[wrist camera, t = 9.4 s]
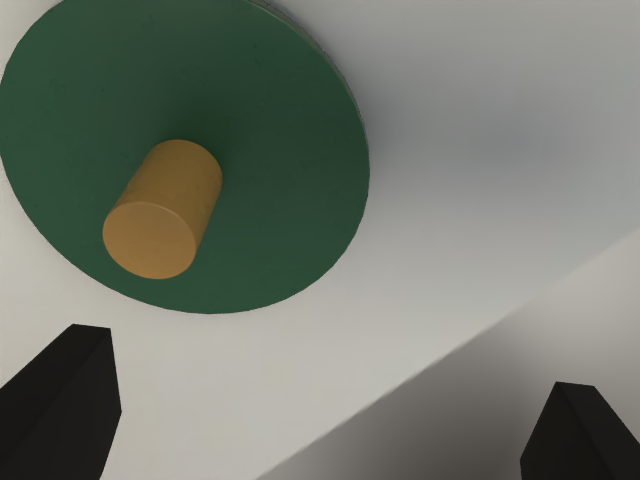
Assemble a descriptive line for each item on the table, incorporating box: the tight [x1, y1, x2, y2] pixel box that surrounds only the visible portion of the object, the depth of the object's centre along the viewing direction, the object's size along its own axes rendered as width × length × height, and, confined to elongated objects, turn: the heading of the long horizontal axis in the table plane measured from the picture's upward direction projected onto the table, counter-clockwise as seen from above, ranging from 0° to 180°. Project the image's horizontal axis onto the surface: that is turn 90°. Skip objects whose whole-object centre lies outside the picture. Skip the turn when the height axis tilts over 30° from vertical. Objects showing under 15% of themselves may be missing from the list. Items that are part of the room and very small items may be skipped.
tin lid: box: [0, 0, 370, 314], centre depth 18 cm, size 11×11×5 cm
